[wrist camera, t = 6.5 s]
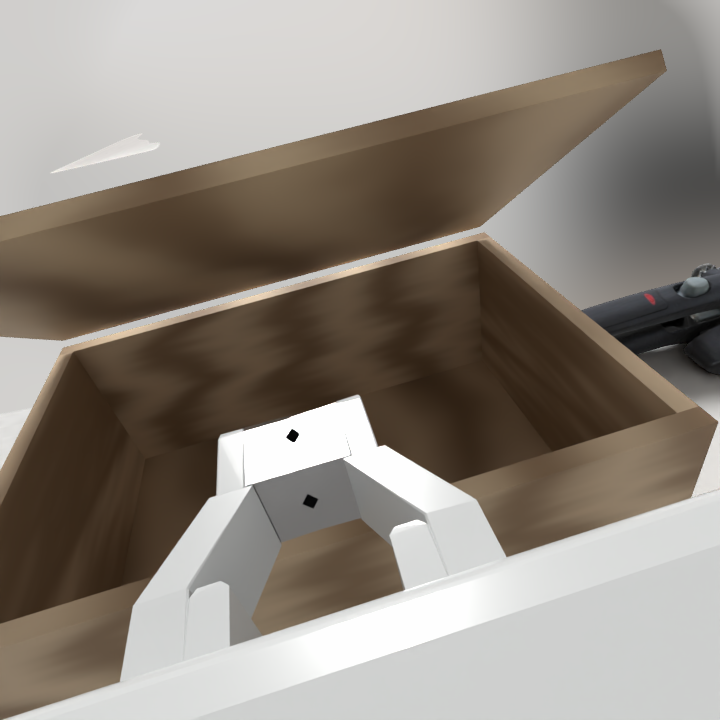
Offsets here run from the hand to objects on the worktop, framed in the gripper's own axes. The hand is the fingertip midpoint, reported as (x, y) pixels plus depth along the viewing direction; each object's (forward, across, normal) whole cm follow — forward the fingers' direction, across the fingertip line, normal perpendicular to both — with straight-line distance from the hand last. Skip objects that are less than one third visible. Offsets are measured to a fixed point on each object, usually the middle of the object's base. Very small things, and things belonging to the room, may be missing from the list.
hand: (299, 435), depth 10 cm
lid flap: (+12, 0, -1) cm, 12 cm away
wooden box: (+10, 0, -16) cm, 19 cm away
